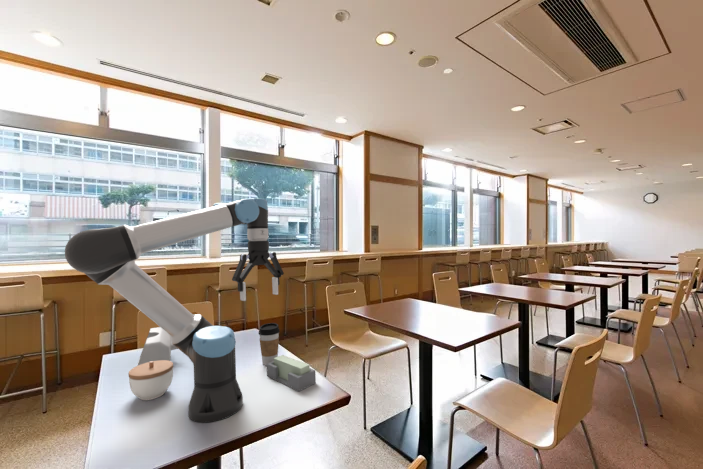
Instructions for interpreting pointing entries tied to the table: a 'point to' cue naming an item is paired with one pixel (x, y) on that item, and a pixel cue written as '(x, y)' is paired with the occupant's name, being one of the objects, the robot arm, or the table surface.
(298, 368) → the block
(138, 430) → the table surface
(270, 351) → the coffee cup
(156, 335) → the tank
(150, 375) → the lidded bowl
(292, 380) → the grey holder tray
